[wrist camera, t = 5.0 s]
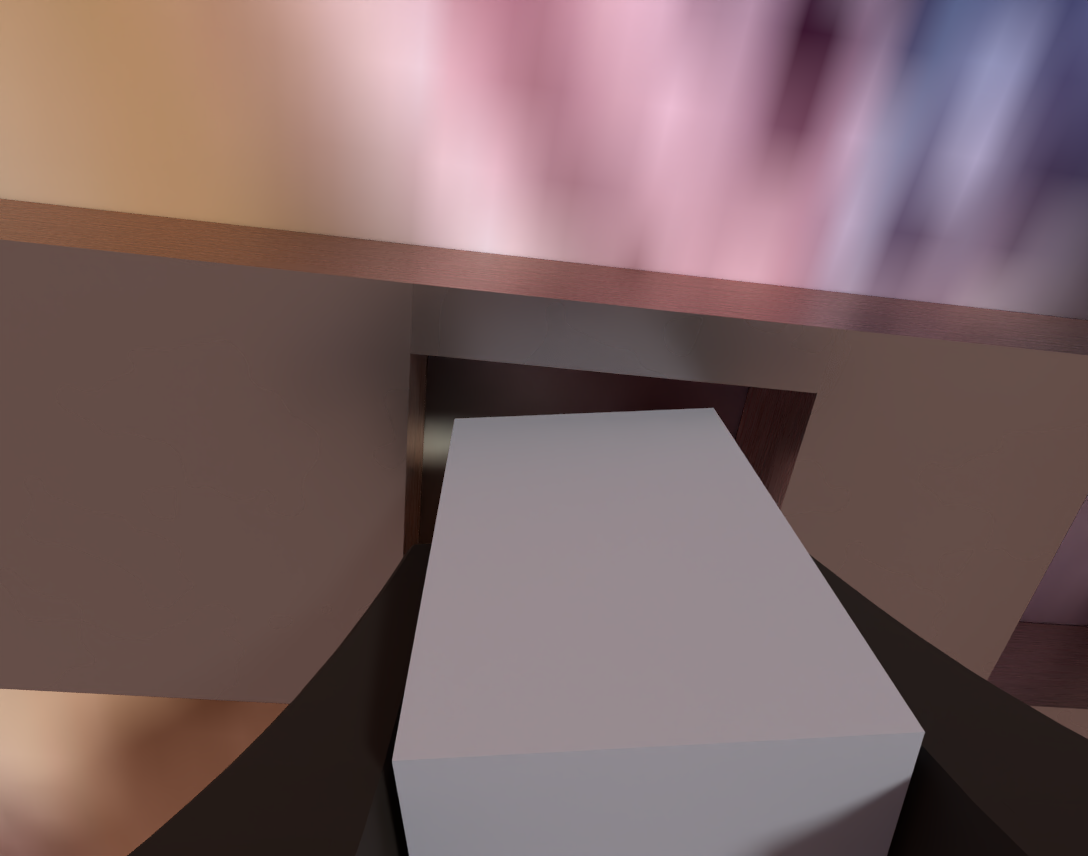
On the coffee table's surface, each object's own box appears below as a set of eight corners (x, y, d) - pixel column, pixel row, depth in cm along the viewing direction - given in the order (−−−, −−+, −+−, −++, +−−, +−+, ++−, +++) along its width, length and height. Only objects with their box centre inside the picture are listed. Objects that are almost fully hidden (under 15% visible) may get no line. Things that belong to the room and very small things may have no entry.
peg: (713, 407, 11) (924, 731, 5) (695, 610, 12) (839, 1012, 7) (454, 418, 10) (392, 760, 5) (473, 620, 12) (442, 1036, 7)
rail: (1427, 358, 13) (1618, 412, 11) (1205, 667, 16) (1314, 757, 14) (-147, 181, 11) (-324, 205, 8) (-24, 588, 14) (-126, 682, 12)
